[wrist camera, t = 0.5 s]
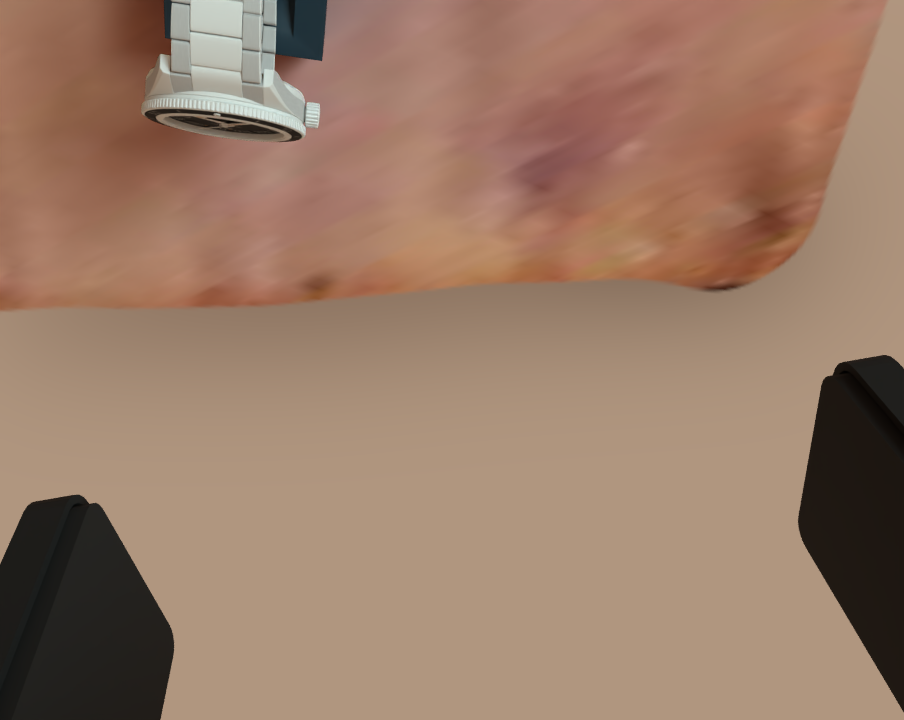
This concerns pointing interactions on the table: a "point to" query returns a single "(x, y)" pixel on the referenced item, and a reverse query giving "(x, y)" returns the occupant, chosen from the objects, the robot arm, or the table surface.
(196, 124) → the watch
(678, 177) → the table surface
